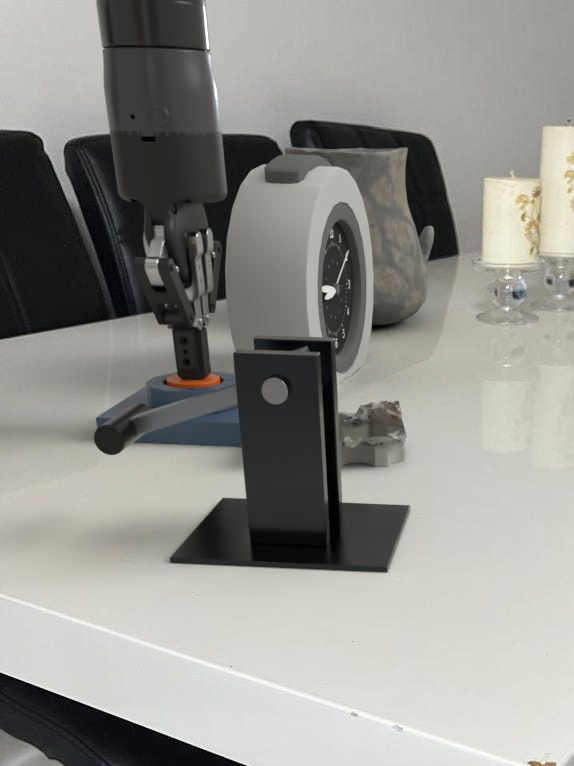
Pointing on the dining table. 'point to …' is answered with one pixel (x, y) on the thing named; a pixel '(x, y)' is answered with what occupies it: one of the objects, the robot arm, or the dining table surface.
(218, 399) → the grey crank handle
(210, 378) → the button
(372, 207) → the vessel
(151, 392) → the control block
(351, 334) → the alarm clock
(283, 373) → the black lever stand
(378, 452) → the egg carton
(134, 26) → the robot arm
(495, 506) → the dining table surface
